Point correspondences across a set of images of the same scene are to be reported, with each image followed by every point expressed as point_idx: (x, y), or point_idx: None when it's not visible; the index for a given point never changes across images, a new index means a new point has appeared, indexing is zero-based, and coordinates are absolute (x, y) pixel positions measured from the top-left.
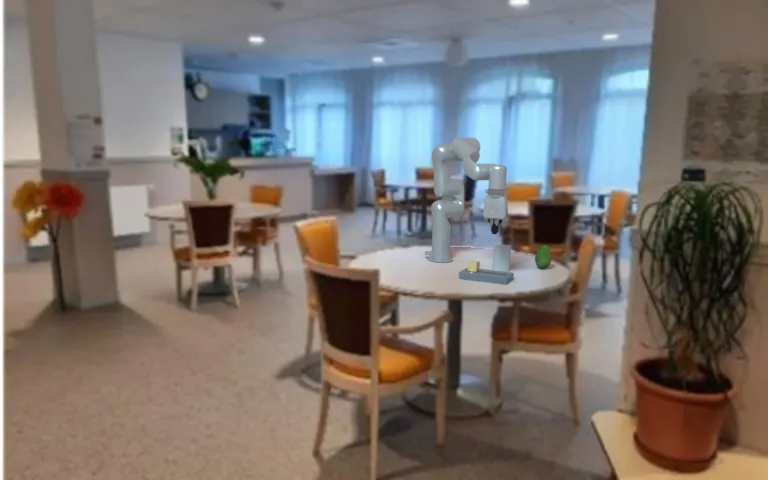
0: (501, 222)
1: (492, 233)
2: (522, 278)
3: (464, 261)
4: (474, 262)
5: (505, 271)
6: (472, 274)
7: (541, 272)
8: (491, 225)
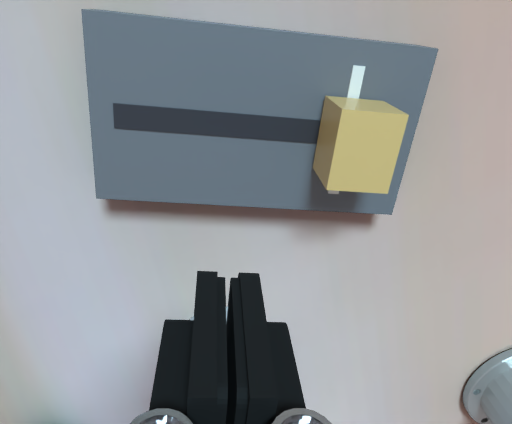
0: None
1: (248, 276)
2: (66, 222)
3: (408, 407)
4: (360, 132)
5: (193, 317)
6: (342, 38)
7: (30, 375)
8: (302, 416)
